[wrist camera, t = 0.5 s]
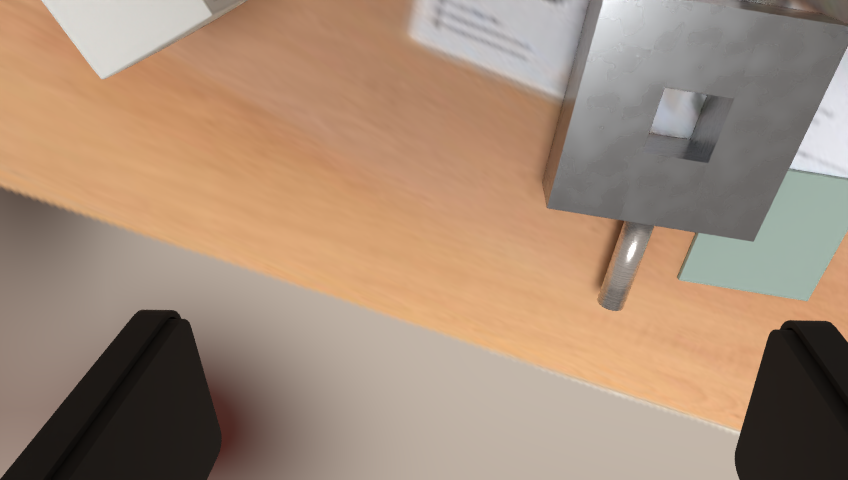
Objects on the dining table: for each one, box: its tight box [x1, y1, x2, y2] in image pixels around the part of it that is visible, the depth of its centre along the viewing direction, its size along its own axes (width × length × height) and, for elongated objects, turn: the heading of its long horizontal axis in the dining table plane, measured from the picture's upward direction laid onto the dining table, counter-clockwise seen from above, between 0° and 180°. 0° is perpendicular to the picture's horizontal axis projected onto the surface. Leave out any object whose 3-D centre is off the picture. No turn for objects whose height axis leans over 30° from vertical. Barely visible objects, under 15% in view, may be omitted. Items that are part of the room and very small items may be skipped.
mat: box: [677, 169, 848, 301], centre depth 45 cm, size 10×10×1 cm
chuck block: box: [542, 0, 848, 311], centre depth 42 cm, size 22×14×4 cm, turn 172°
